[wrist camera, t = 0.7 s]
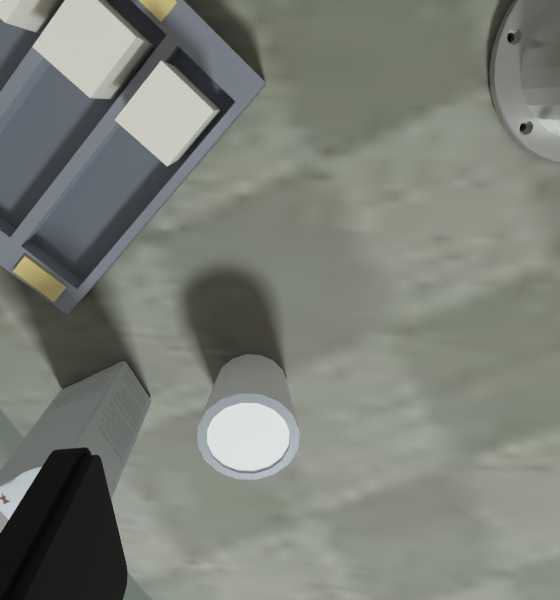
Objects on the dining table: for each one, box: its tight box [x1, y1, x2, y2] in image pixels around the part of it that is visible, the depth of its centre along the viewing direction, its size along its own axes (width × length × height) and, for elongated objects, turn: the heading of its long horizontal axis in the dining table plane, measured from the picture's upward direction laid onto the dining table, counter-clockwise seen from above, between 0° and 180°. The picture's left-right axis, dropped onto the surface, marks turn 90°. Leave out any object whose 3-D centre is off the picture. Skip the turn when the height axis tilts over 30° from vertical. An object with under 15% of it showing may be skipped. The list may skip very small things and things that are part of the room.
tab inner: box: [115, 60, 221, 166], centre depth 30 cm, size 4×4×4 cm
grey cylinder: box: [198, 354, 300, 480], centre depth 38 cm, size 7×7×7 cm
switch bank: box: [0, 0, 266, 315], centre depth 32 cm, size 20×16×3 cm
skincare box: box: [0, 361, 151, 520], centre depth 35 cm, size 6×4×12 cm
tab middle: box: [32, 0, 154, 99], centre depth 29 cm, size 4×4×4 cm
